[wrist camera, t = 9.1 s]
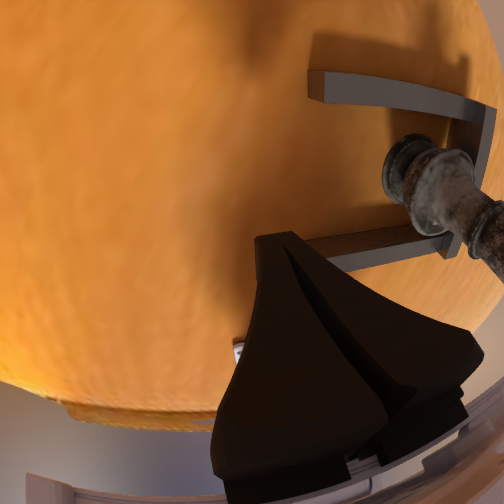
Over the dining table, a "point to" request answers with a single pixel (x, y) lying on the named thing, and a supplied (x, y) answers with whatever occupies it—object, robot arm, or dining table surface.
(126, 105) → the dining table surface
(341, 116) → the dining table surface
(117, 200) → the dining table surface
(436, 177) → the weathered grey candle holder
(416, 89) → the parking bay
